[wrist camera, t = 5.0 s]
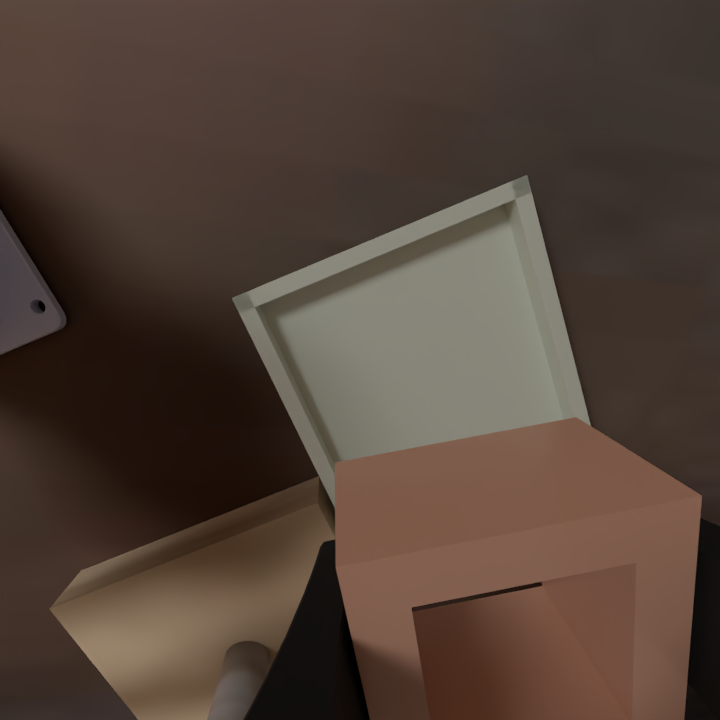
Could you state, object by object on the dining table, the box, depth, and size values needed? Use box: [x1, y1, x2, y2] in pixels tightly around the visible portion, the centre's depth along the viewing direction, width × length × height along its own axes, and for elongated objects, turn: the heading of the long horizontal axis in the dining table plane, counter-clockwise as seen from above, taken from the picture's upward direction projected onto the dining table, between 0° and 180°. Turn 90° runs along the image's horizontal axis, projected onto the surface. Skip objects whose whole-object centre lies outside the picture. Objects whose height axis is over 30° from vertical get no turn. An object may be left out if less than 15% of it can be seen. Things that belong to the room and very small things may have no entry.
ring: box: [335, 417, 702, 720], centre depth 8 cm, size 6×6×3 cm
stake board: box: [50, 476, 335, 720], centre depth 16 cm, size 12×12×4 cm
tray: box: [232, 175, 591, 507], centre depth 15 cm, size 13×11×2 cm
